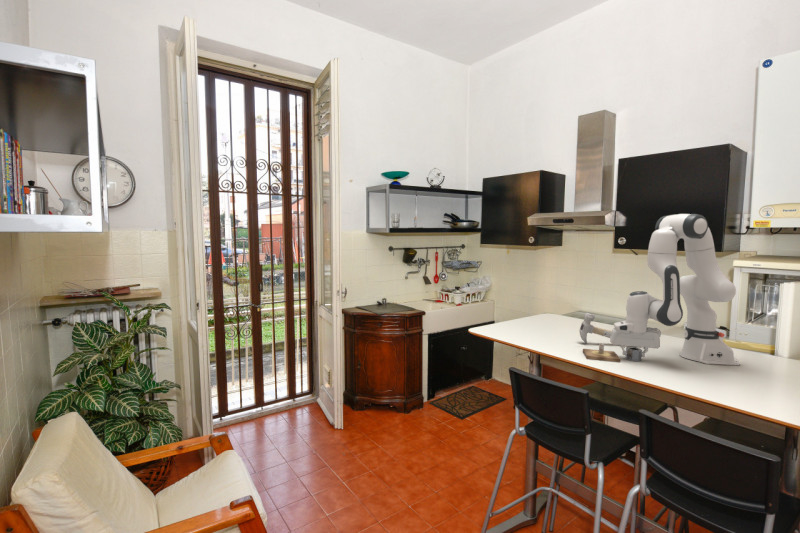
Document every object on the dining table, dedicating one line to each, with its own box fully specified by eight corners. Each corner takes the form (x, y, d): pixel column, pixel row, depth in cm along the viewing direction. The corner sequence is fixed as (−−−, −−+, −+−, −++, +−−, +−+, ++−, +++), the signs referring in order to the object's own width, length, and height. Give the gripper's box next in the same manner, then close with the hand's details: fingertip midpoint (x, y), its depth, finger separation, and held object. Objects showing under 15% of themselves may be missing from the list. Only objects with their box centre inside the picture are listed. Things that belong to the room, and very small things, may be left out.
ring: (638, 357, 191) (639, 347, 191) (642, 361, 185) (643, 351, 185) (624, 356, 193) (625, 346, 192) (627, 360, 187) (628, 349, 186)
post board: (614, 354, 196) (615, 341, 195) (620, 362, 184) (621, 348, 184) (582, 351, 199) (583, 338, 199) (586, 358, 188) (587, 345, 187)
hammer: (641, 327, 212) (584, 311, 214) (646, 329, 208) (587, 313, 210) (632, 355, 214) (575, 339, 216) (636, 358, 210) (578, 342, 212)
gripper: (658, 326, 188) (656, 355, 189) (610, 323, 193) (608, 351, 194) (663, 330, 182) (661, 360, 183) (613, 326, 187) (611, 355, 188)
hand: (633, 355), depth 189 cm, fingers closed on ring, 6 cm apart
